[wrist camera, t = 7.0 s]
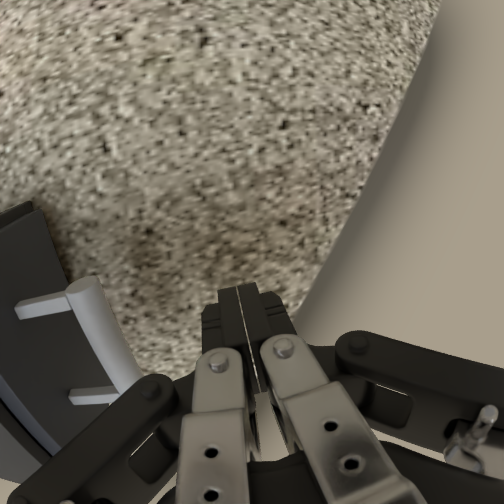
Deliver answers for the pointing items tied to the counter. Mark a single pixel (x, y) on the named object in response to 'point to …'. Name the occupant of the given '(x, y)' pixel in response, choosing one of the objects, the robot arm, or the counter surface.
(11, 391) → the cabinet drawer
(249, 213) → the counter surface
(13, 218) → the grey handled drawer box
